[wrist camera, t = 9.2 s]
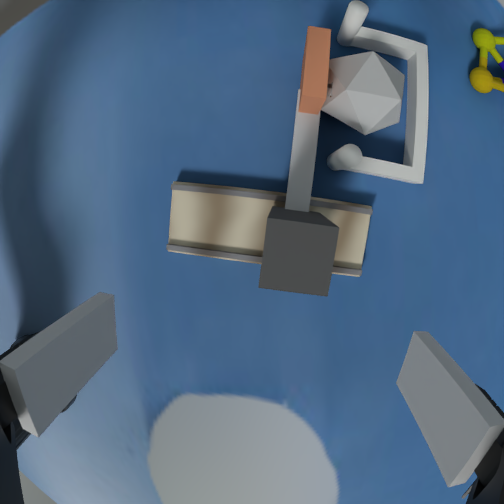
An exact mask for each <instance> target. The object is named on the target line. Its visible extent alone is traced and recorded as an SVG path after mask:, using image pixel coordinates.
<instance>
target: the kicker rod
mask: <svg viewBox="0 0 504 504" xmlns="http://www.w3.org/2000/svg"><path fill="white" fill-rule="evenodd" d="M330 40H331V29H326V28H320V27H313V26H308V30H307V37H306V43H305V50H304V56H303V63H302V74H301V84H300V89H299V90H298V98H297V108H296V117H295V126H294V136H293V144H292V153H291V162H290V170H289V178H288V187H287V195H286V203H285V208H284V207H276V206H272V208H271V211H270V213H269V215H268V217H267V224H266V232H265V240H264V248H263V256H262V264H261V272H260V280H259V288H265V289H273V290H280V291H288V292H295V293H303V294H311V295H320V296H328V291H329V286H330V280H331V275H332V270H333V264H334V258H335V252H336V247H337V240H338V234H339V227H338V226H337V225H335V224H334V223H333V222H331V221H330V220H329V219H327V218H326V217H325V216H323V215H322V214H321V213H319V212H313V211H309V206H310V199H311V191H312V183H313V175H314V167H315V158H316V149H317V140H318V130H319V121H320V110H321V108H322V106H323V104H324V102H325V100H326V96H327V84H328V71H329V57H330Z"/></svg>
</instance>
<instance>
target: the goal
mask: <svg viewBox="0 0 504 504" xmlns="http://www.w3.org/2000/svg"><path fill="white" fill-rule="evenodd" d="M368 12H369V9H368V6H367V5H366V4H365V3H363V2H361V1H358V0H354V1H351V2H350V3H349V5H348V8H347V11H346V14H345V16H344V19H343V22H342V25H341V27H340V30H339V33H338V35H337V41H338V43H339V44H340V45H342V46H345V47H348V46H353V47H358V48H363V49H367V50H371V51H376V52H380V53H383V54H387V55H391V56H395V57H398V58H402V59H405V60H407V63H408V86H407V117H406V134H405V147H404V158H403V165H401V164H397V163H392V162H388V161H383V160H378V159H374V158H369V157H363V156H362V152H361V150H360V148H359V147H358V146H356V145H354V144H346V145H344V146H343V147H341V148H340V149H338V150H336V151H335V152H333V153H332V154H330V155H329V156H328V158H327V165H328V167H329V168H330V169H332V170H334V171H338V170H348V171H353V172H359V173H364V174H370V175H375V176H380V177H385V178H390V179H394V180H399V181H404V182H408V183H417V184H423V179H424V169H425V158H426V146H427V130H428V98H429V82H428V51H427V45H425V44H422V43H419V42H416V41H413V40H410V39H407V38H403V37H400V36H397V35H393V34H390V33H386V32H382V31H378V30H374V29H370V28H366V27H362V24H363V22H364V20H365V18H366V16H367V14H368Z"/></svg>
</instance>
